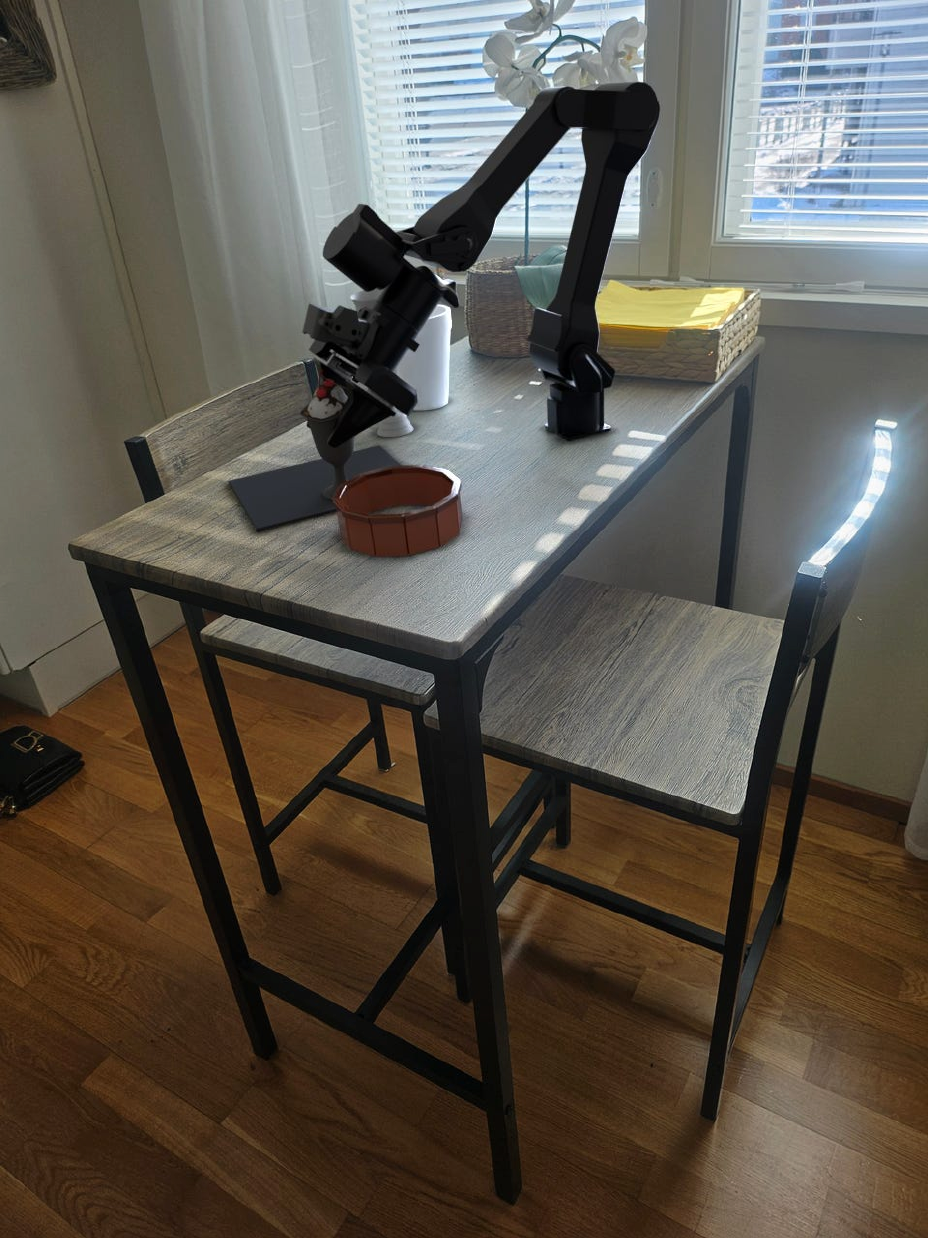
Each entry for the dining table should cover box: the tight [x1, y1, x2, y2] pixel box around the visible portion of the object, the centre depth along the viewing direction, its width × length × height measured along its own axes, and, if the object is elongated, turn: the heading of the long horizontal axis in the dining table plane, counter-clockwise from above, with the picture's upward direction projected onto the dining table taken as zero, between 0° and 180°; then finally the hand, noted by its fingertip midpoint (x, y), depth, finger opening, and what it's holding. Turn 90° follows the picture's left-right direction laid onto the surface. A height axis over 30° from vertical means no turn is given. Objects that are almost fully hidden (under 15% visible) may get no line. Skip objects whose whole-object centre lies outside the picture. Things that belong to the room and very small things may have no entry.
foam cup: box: [395, 304, 453, 411], centre depth 126 cm, size 10×9×13 cm
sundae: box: [298, 369, 355, 500], centre depth 99 cm, size 7×7×15 cm
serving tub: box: [333, 464, 464, 558], centre depth 93 cm, size 13×13×4 cm
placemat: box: [228, 444, 402, 533], centre depth 106 cm, size 20×16×1 cm
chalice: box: [349, 288, 414, 438], centre depth 116 cm, size 7×7×18 cm
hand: (319, 436), depth 99 cm, fingers open, 7 cm apart
